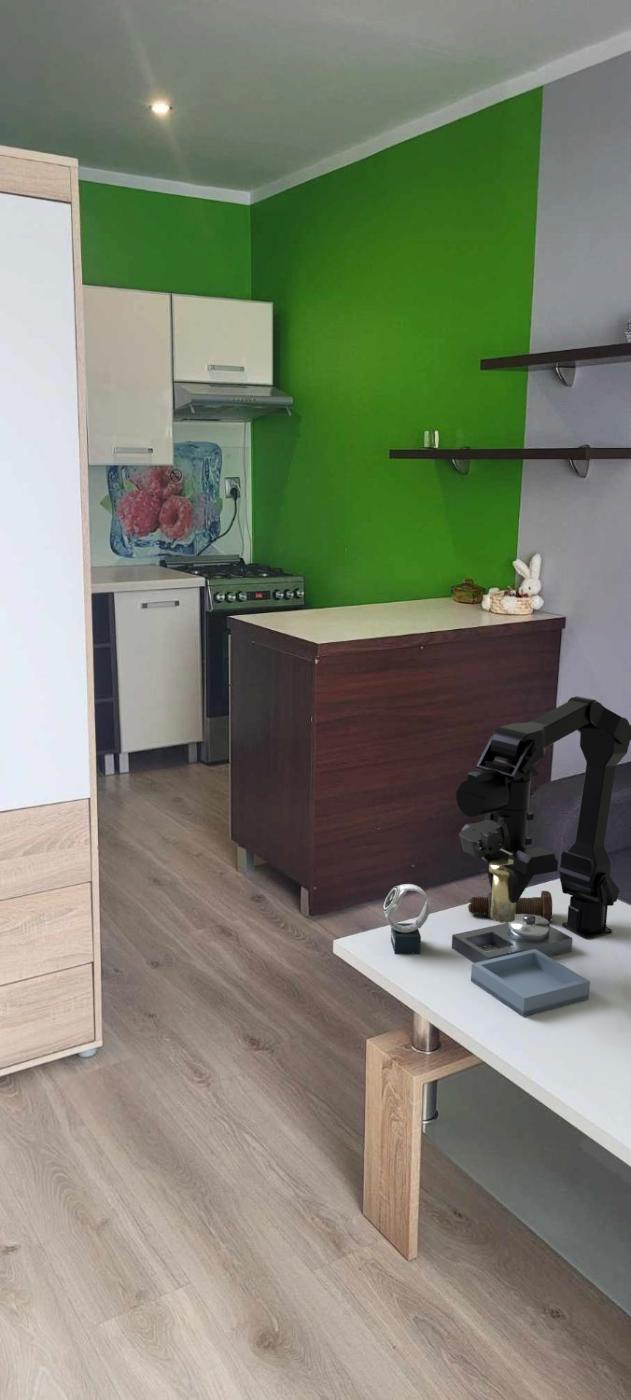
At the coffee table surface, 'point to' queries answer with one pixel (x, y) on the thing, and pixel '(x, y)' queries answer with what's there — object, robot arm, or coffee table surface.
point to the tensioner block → (512, 939)
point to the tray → (530, 982)
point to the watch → (405, 934)
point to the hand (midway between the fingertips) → (504, 897)
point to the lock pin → (501, 892)
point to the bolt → (523, 905)
